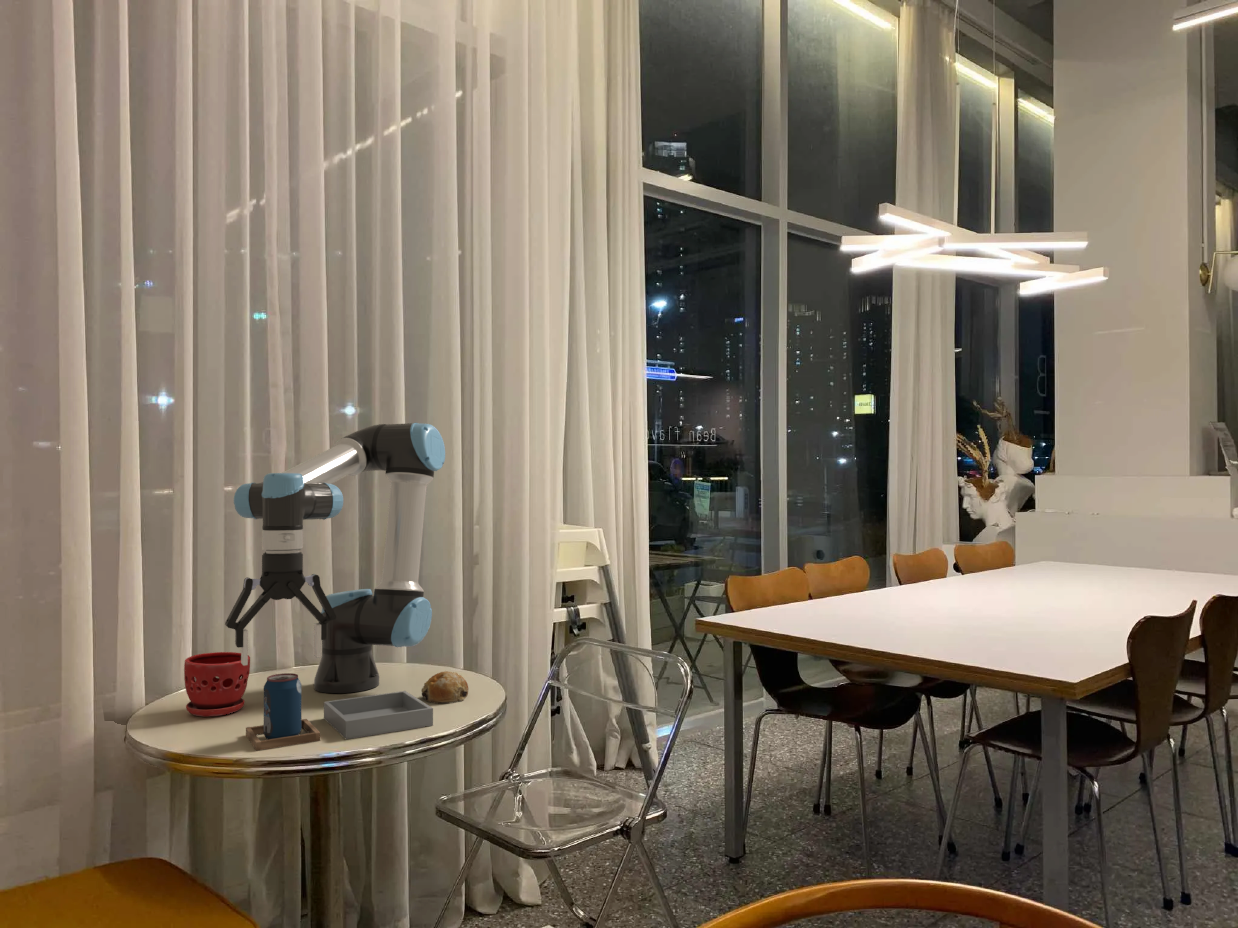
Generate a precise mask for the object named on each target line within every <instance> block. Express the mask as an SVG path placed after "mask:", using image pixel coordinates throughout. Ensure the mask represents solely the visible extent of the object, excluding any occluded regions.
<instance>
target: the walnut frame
mask: <svg viewBox="0 0 1238 928" xmlns="http://www.w3.org/2000/svg"><path fill="white" fill-rule="evenodd" d="M301 729H303V730H305V731H306V733H303V734H299V735H295V736H288V737H282V738H275V739H269V740H267V739H264V740H260V738H259V737H258V735H264V724H260V725H255V726H248V727H245V736H246V738H247V739H248V741H249V742H250V744H251V745H252V746H253V748H254V750H255V751H262V750H269V749H276V748H282V747H288V746H295V745H300V744H306V743H312V742H313V743H314V742H319V741H321V732H320V731H319V730H318V729H317V728H316V727H315V725H313V724H312V722H310V721H309V719H307V718H305V719H304V718H303V719H302V718H301ZM257 734H258V735H257Z"/></svg>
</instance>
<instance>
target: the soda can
mask: <svg viewBox="0 0 1238 928" xmlns="http://www.w3.org/2000/svg"><path fill="white" fill-rule="evenodd" d="M301 720H302V682H301V681H300V678H299V674H296V673H290V672H288V673H278V674H277V673H275V674H272V675H269V676H267V677H266V682H265V683H264V686H263V725H264V734H263V735H264V737H265V740H269V739H275V738H282V737H288V736H295V735H301V734H300V733H301V732H302V728H301Z"/></svg>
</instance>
